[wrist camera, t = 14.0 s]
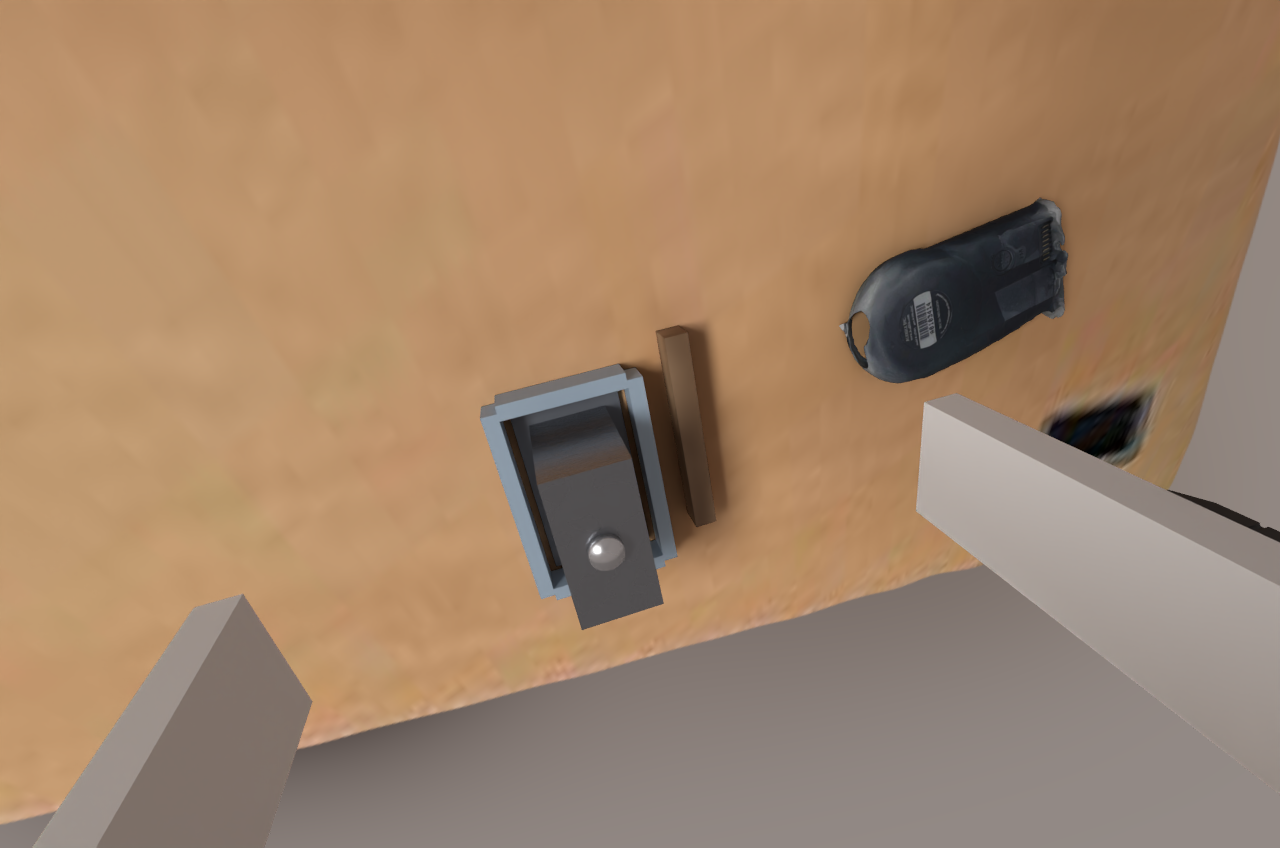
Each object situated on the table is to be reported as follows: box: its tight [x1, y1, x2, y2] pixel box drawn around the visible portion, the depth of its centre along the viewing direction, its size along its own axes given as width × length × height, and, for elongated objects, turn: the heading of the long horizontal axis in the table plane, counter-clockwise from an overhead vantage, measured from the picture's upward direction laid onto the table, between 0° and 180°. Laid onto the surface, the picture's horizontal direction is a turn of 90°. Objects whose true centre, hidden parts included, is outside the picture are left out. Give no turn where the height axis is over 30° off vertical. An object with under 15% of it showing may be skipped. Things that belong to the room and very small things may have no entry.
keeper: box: [480, 364, 677, 600], centre depth 37 cm, size 10×15×2 cm, turn 11°
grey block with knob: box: [529, 405, 664, 630], centre depth 34 cm, size 10×5×9 cm, turn 11°
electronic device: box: [839, 198, 1068, 383], centre depth 38 cm, size 9×6×15 cm
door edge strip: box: [656, 326, 716, 527], centre depth 37 cm, size 2×14×2 cm, turn 11°
